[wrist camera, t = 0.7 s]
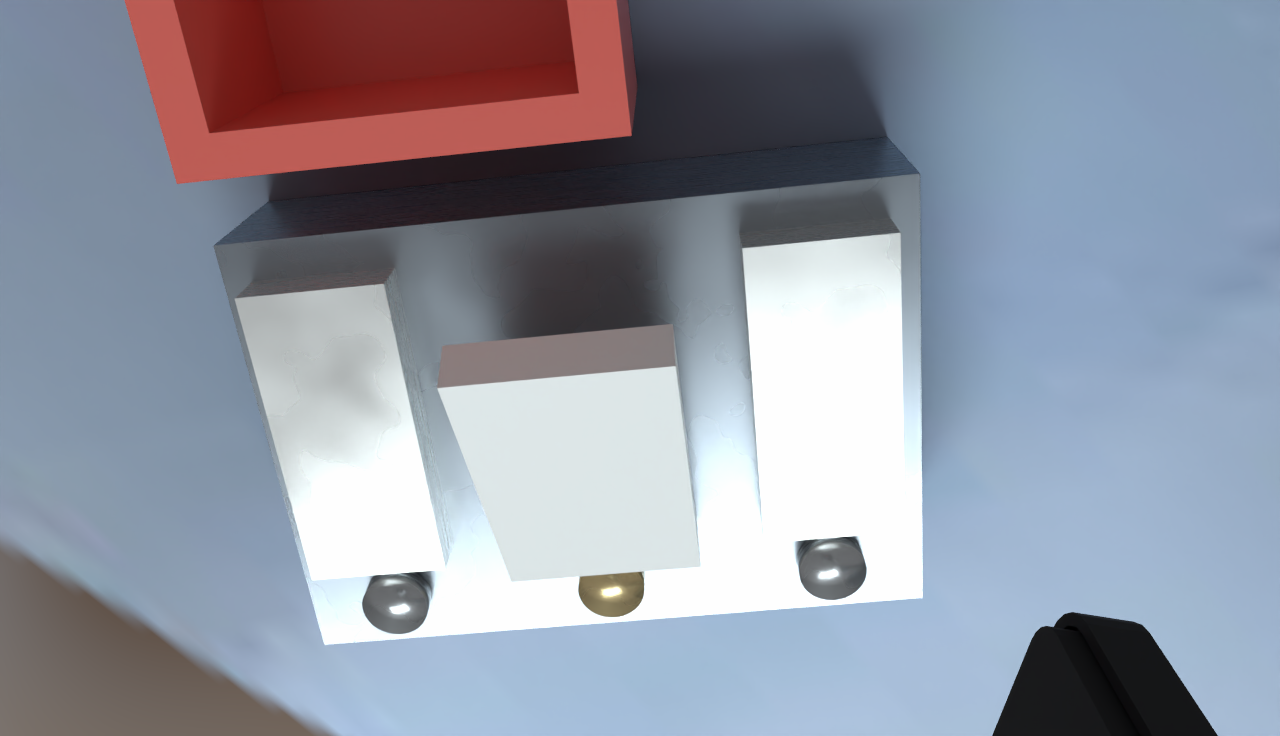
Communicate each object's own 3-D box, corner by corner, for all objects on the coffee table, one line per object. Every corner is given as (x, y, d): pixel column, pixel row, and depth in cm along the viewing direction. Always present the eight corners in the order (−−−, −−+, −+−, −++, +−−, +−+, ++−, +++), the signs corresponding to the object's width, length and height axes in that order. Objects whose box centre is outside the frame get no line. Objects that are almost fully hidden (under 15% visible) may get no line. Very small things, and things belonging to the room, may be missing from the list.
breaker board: (894, 520, 34) (932, 624, 29) (359, 565, 35) (312, 672, 30) (887, 137, 29) (931, 187, 24) (267, 201, 30) (194, 261, 25)
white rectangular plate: (697, 527, 29) (700, 566, 28) (513, 542, 30) (511, 581, 29) (672, 324, 23) (675, 366, 22) (442, 345, 24) (437, 388, 23)
